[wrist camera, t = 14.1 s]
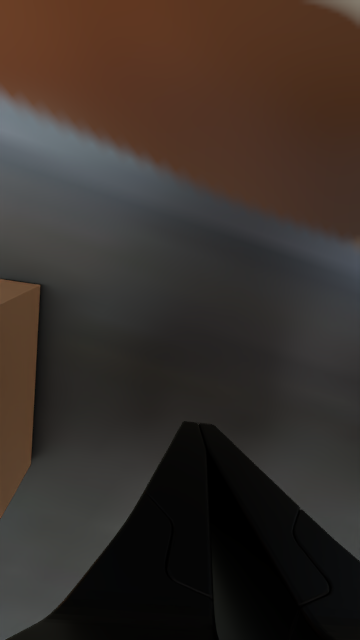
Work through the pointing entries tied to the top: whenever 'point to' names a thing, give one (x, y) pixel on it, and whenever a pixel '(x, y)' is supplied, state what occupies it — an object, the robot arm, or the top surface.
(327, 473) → the top surface
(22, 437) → the tray
